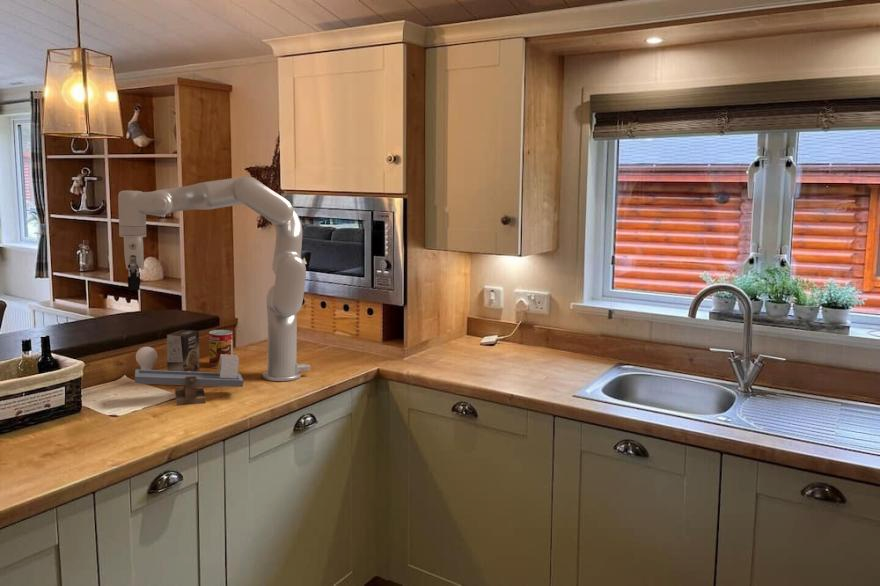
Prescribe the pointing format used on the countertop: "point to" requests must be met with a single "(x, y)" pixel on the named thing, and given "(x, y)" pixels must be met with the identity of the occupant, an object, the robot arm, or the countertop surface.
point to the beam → (179, 378)
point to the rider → (228, 366)
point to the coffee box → (183, 350)
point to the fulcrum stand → (190, 391)
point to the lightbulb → (146, 358)
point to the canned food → (219, 346)
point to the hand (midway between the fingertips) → (134, 287)
